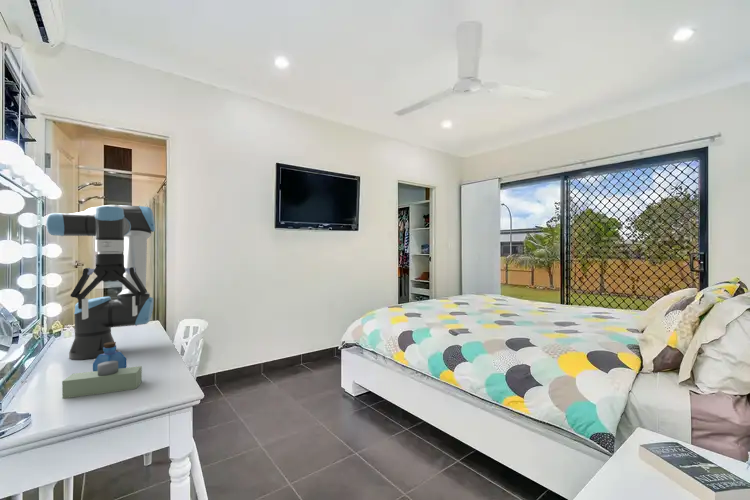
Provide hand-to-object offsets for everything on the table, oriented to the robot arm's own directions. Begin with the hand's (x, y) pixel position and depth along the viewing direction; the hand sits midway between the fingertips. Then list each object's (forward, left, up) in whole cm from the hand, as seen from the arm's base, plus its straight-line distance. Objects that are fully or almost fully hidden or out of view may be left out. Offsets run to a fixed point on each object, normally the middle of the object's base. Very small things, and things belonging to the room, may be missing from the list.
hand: (110, 317), depth 113 cm
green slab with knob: (+5, +1, -21) cm, 21 cm away
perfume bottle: (+1, 0, -21) cm, 21 cm away
